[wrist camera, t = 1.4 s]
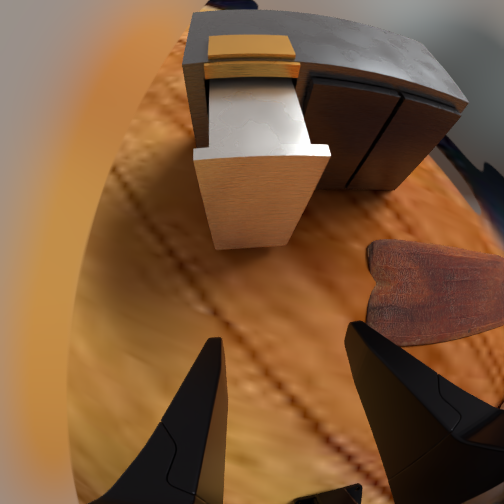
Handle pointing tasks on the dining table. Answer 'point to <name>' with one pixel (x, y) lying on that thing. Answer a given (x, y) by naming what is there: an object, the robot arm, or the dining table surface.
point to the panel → (256, 162)
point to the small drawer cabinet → (332, 87)
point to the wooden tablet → (433, 292)
